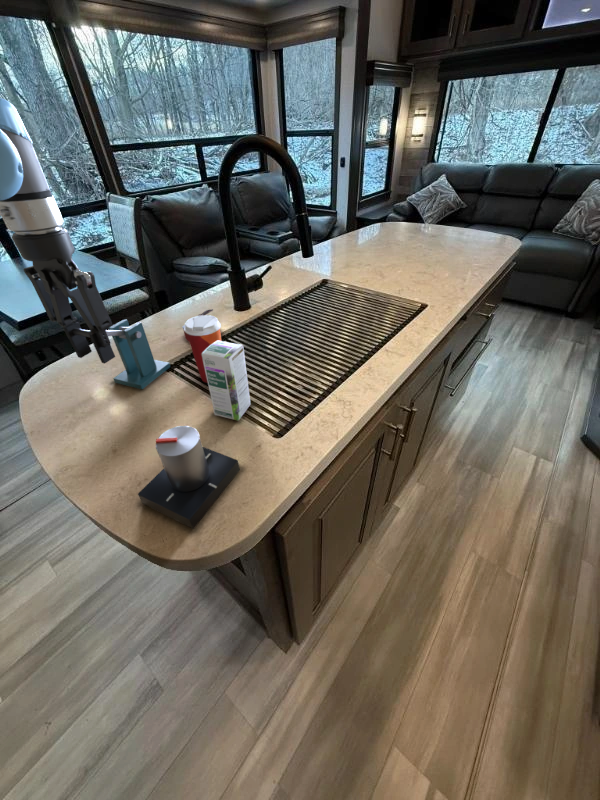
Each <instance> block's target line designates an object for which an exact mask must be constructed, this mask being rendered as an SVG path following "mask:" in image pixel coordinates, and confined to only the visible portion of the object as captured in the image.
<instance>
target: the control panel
mask: <svg viewBox="0 0 600 800" xmlns="http://www.w3.org/2000/svg"><path fill="white" fill-rule="evenodd" d="M202 447H203V450H204V454H205V457H206V461H207V464H208V468H209V477H208V479H207V481H206V482H205V483H204V484H203V485H202V486H201V487H199V488H198V489H196V490H193V491H189V492H181V491H177V490H175V489H174V488H173V487H172V486H171V484H170V481H169V479H168V476H167V474H166V472H165V469H164V467H163V468H162V469H161V470H160V471H159V472H158V473H157V474H156V475H155V476H154V477H153V478H152V479H151V480H150V481H149V482H148V483H147V484H146V485H145V486H144V487H143V488H141V490H140V491H139V492H138V493H137V496H138V498H139V500H140V502H141V504H142V505H144V506H146V507H148V508H151V509H152V510H154V511H156V512H158V513H160V514H162V515H164V516H166V517H168V518H170V519H172V520H174V521H176V522H178V523H180V524H182V525H184V526H186V527H188V528H190V529H192V530H194V529H195V528H196V527H197V525H198V524H199V522H200V521H202V519H203V518H204V516H205V515H206V514H207V513H208V511H210V509H211V508H212V506H213V505H214V504H215V503H216V501H217V500H218V498H219V497H220V496H221V495H222V493H223V492H224V491H225V490H226V488H227V487H228V486H229V484H231V482H232V481H233V480H234V478H235V477H236V476H237V474H238V473H239V472H240V471H241V469H240V463H239V460H238V459H235V458H233V457H231V456H228V455H225V454H223V453H220V452H217V451H215V450H212V449H210V448H207V447H205V446H202Z"/></svg>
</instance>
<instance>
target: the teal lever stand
mask: <svg viewBox="0 0 600 800" xmlns="http://www.w3.org/2000/svg"><path fill="white" fill-rule="evenodd" d="M119 327H129V328H127V329H126V330H124V334H125V336H126V339H123V338H119V336H111V337H112V339H113V343H114V344H115V347H116V349H117V353H118V355H119V357H120V359H121V362H122V364H123V366H124V369H125V370H123V371H121V372H120V373H119V374H117V375H116V376H114V377H113V378H112V379H113V382H114V383H115V384H119V385H123V386H128V387H131V388H135V389H139V390H144V389H145V388H146V387H147V386H148V385H150V384H151V383H153V382H154V381H155V380H156V379H158V378H159V377H160V376H161V375H163V374H164V373H165V372H166V371H167V370H169V369H170V368H171V363H170V362H167V361H162V360H159V359H155V358H154V355H153V352H152V350H151V346H150V343H149V341H148V337H147V335H146V331H145V328H144V325H143V322H139V321H137V322H136V323H134V324H132V325H131V326H130V324H129V321H128V319H122V320H121V321H119V322H116V323H115V324H112V326H110V327H108V330H119Z"/></svg>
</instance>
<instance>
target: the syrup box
mask: <svg viewBox="0 0 600 800" xmlns="http://www.w3.org/2000/svg"><path fill="white" fill-rule="evenodd" d="M245 356H246V355H245V349H244V345H243V344H241V343H240V344H239V343H233V342H228V341H223V340H221V341H219V340H217V341H216V342H214V343H213V344H211V345H210V346H209V347H207V348H206V349H205V350H204V351H203V353H202V359H203V364H204V368H205V373H206V377H207V381H208V383H207V385H208V390H209V395H210V399H211V404H212V409H213V414H214V416H216V417H217V416H218V417H222V418H226V419H228V420H229V419H230V420H234V421H237V422H239V421H240V419H242V417H243V415H245V413H246V412H247V410H248V409H249V407H250V406H251V396H250V388H249V380H248V374H247V373H248V372H247V364H246V358H245Z"/></svg>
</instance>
